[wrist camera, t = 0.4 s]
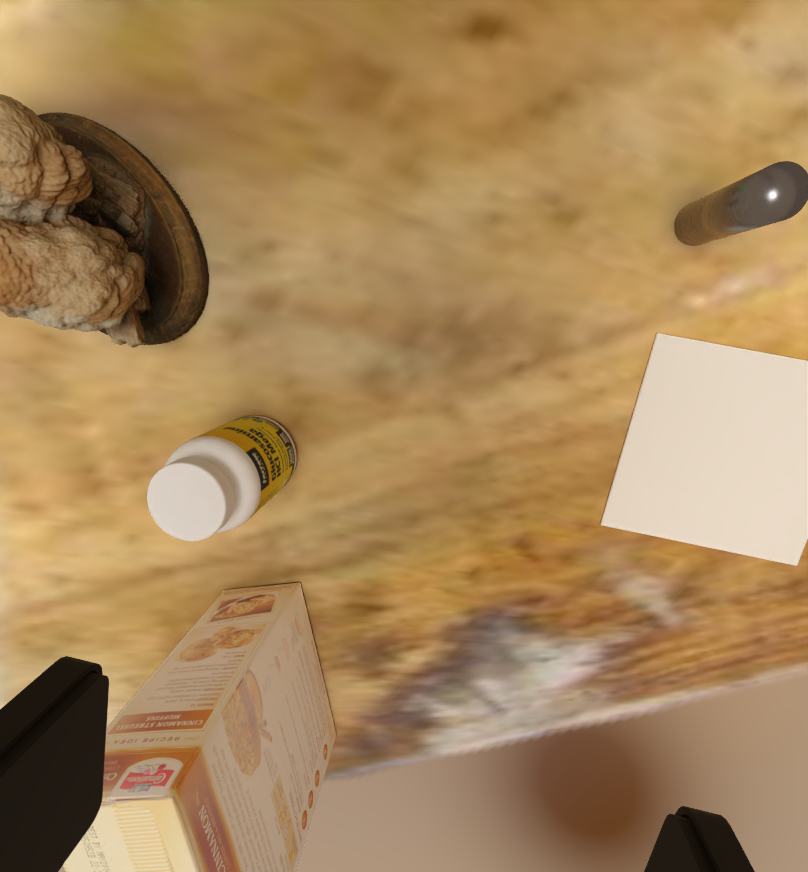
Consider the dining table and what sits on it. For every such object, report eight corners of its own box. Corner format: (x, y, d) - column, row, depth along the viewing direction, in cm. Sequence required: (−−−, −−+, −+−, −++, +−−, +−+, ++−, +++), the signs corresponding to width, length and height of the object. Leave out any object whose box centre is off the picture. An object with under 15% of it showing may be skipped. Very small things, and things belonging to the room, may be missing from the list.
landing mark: (656, 332, 35) (657, 333, 35) (871, 372, 34) (874, 373, 34) (600, 523, 38) (600, 524, 38) (794, 564, 37) (796, 565, 37)
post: (681, 198, 33) (761, 157, 24) (723, 205, 33) (819, 166, 24) (669, 241, 34) (742, 216, 25) (710, 248, 33) (798, 225, 25)
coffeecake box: (220, 588, 43) (31, 804, 24) (303, 579, 42) (174, 797, 23) (261, 741, 46) (123, 1040, 27) (339, 736, 45) (252, 1042, 26)
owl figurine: (-32, 191, 38) (-417, 89, 21) (68, 64, 35) (-281, -165, 19) (142, 380, 39) (-86, 424, 23) (249, 273, 37) (79, 234, 20)
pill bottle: (315, 455, 39) (261, 508, 29) (262, 506, 41) (191, 575, 30) (256, 396, 39) (179, 427, 28) (204, 450, 40) (112, 499, 29)
